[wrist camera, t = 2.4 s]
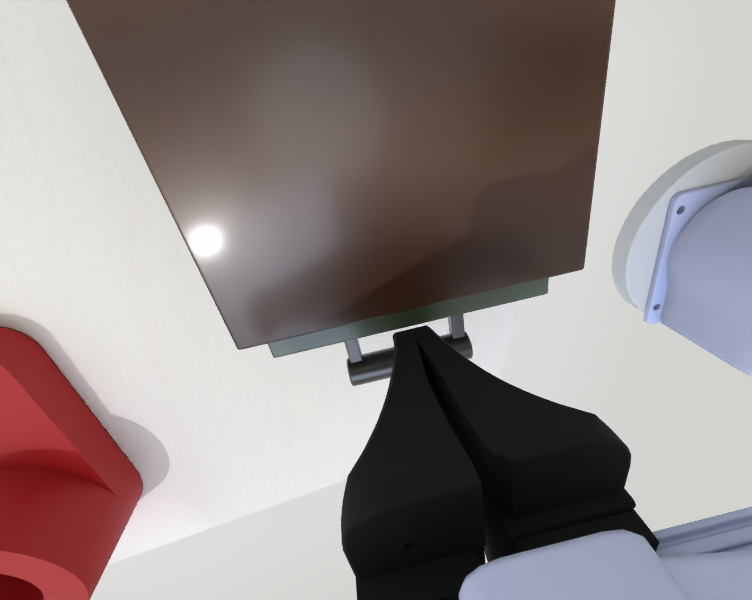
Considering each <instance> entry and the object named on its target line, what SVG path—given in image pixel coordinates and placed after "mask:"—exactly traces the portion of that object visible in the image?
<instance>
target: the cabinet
mask: <svg viewBox="0 0 752 600" xmlns="http://www.w3.org/2000/svg"><path fill="white" fill-rule="evenodd" d="M66 1H67V3H68V5H69V7H70V9H71V11H72V13H73V15H74V17H75V19H76V21H77V23H78V25H79V27H80V29H81V31H82V33H83V35H84V37H85V39H86V41H87V43H88V45H89V47H90V49H91V51H92V53H93V55H94V58H95V60H96V62H97V64H98V66H99V68H100V70H101V72H102V74H103V76H104V78H105V80H106V82H107V84H108V86H109V88H110V90H111V92H112V94H113V96H114V98H115V100H116V102H117V104H118V106H119V108H120V110H121V112H122V115H123V117H124V119H125V121H126V123H127V125H128V127H129V129H130V131H131V133H132V135H133V137H134V139H135V141H136V143H137V145H138V147H139V149H140V151H141V153H142V155H143V157H144V159H145V161H146V163H147V165H148V167H149V169H150V171H151V174H152V176H153V178H154V180H155V182H156V184H157V186H158V188H159V190H160V192H161V194H162V196H163V198H164V200H165V202H166V204H167V206H168V208H169V210H170V212H171V214H172V216H173V218H174V220H175V222H176V224H177V226H178V228H179V231H180V233H181V235H182V237H183V239H184V241H185V243H186V245H187V247H188V249H189V251H190V253H191V255H192V257H193V259H194V261H195V263H196V265H197V267H198V269H199V271H200V273H201V275H202V277H203V279H204V281H205V283H206V285H207V287H208V290H209V292H210V294H211V296H212V298H213V300H214V302H215V304H216V306H217V308H218V310H219V312H220V314H221V316H222V318H223V320H224V322H225V324H226V326H227V328H228V330H229V332H230V334H231V336H232V338H233V340H234V342H235V344H236V347H237V349H238V350H241V349H246V348H250V347H254V346H258V345H263V344H267V343H271V342H276V341H280V340H284V339H288V338H293V337H297V336H301V335H305V334H310V333H314V332H318V331H322V330H327V329H331V328H335V327H340V326H344V325H348V324H352V323H357V322H361V321H365V320H369V319H374V318H378V317H382V316H386V315H391V314H395V313H399V312H404V311H408V310H412V309H416V308H421V307H425V306H429V305H433V304H438V303H442V302H446V301H450V300H455V299H459V298H463V297H468V296H472V295H476V294H480V293H485V292H489V291H493V290H497V289H502V288H506V287H510V286H514V285H519V284H523V283H527V282H531V281H536V280H540V279H544V278H549V277H553V276H557V275H561V274H565V273H570V272H574V271H578V270H582V269H583V268H584V262H585V254H586V246H587V237H588V229H589V220H590V211H591V204H592V195H593V187H594V179H595V170H596V161H597V153H598V144H599V136H600V128H601V118H602V111H603V102H604V94H605V86H606V77H607V69H608V60H609V52H610V43H611V35H612V26H613V17H614V9H615V0H66Z"/></svg>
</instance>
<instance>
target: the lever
mask: <svg viewBox="0 0 752 600" xmlns="http://www.w3.org/2000/svg"><path fill="white" fill-rule="evenodd" d="M142 488H143V486H142V480H141V477H140V475H139V473H138V472H137V470H136V469H135V468H134V466H133V465H132V464H131V463H130V461H129V460H128V459H127V457H126V456H125V455H124V453H123V452H122V451H121V450H120V448H119V447H118V446H117V444H116V443H115V442H114V441H113V439H112V438H111V437H110V435H109V434H108V433H107V431H106V430H105V429H104V428H103V426H102V425H101V424H100V422H99V421H98V420H97V418H96V417H95V416H94V415H93V413H92V412H91V411H90V409H89V408H88V407H87V406H86V404H85V403H84V402H83V400H82V399H81V398H80V396H79V395H78V394H77V393H76V391H75V390H74V389H73V387H72V386H71V385H70V384H69V382H68V381H67V380H66V378H65V377H64V376H63V374H62V373H61V372H60V371H59V369H58V368H57V367H56V365H55V364H54V363H53V362H52V360H51V359H50V358H49V356H48V355H47V354H46V352H45V351H44V350H43V349H42V347H41V346H40V345H39V344H38V343H37V342H36V341H34V340H33V339H32V338H30V337H28V336H27V335H25V334H23V333H21V332H18V331H16V330H13V329H9V328H4V327H0V600H90V598H91V596H92V594H93V592H94V590H95V588H96V586H97V584H98V582H99V580H100V578H101V576H102V574H103V571H104V569H105V567H106V565H107V563H108V561H109V559H110V557H111V555H112V553H113V551H114V549H115V547H116V545H117V543H118V541H119V539H120V537H121V535H122V533H123V531H124V529H125V527H126V525H127V523H128V521H129V519H130V517H131V515H132V513H133V511H134V509H135V507H136V505H137V503H138V501H139V498H140V496H141V494H142Z"/></svg>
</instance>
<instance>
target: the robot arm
mask: <svg viewBox="0 0 752 600" xmlns="http://www.w3.org/2000/svg"><path fill="white" fill-rule="evenodd" d="M678 208H679V209H678ZM677 209H678V211H677ZM643 320H644V321H645V322H646V323H648V324H654V323H658V322H661V323H662V324H664V325H666V326H667V327H669V328H670V329H672V330H674V331H675V332H677V333H679V334H680V335H682V336H684V337H685V338H687V339H689V340H690V341H692V342H693V343H695V344H697V345H698V346H700V347H702V348H703V349H705V350H707V351H708V352H710V353H712V354H713V355H715V356H716V357H718V358H720V359H721V360H723V361H725V362H726V363H728V364H730V365H731V366H733V367H734V368H736V369H738V370H740V371H742V372H744V373H746V374H748V375H750V376H752V176H749V177H745V178H741V179H736V180H732V181H728V182H723V183H719V184H715V185H710V186H706V187H702V188H697V189H693V190H689V191H684V192H680V193H677V194H676V195H674V196H673V197H672V199H671V201H670V204H669V208H668V213H667V217H666V221H665V226H664V230H663V234H662V239H661V243H660V247H659V252H658V256H657V260H656V265H655V269H654V273H653V278H652V282H651V286H650V291H649V295H648V300H647V304H646V308H645V313H644V317H643ZM393 341H394V360H393V368H392V374H391V379H390V384H389V388H388V392H387V395H386V399H385V402H384V405H383V408H382V411H381V413H380V416H379V419H378V421H377V424H376V426H375V428H374V430H373V432H372V434H371V436H370V438H369V440H368V442H367V445H366V447H365V449H364V450H363V452H362V454H361V456H360V457H359V459H358V460H357V462H356V464H355V465H354V467H353V469H352V470H351V472H350V473H349V475H348V478H347V483H346V487H345V492H344V498H343V505H342V516H341V532H342V545H343V551H344V553H345V555H346V557H347V559H348V561H349V564H350V566H351V568H352V570H353V572H354V574H355V576H356V588H357V600H752V507H749V508H745V509H741V510H737V511H734V512H729V513H725V514H722V515H718V516H714V517H710V518H706V519H702V520H699V521H694V522H690V523H686V524H682V525H679V526H675V527H671V528H667V529H663V530H659V531H655V532H651V530H650V529H649V528H648V527H647V525H646V524H645V523H644V521H643V520H642V519H641V518H640V516H639V515H638V514H637V513H636V511H635V510H634V509H633V508H635V506H636V504H635V502H634V500H633V498H632V497H631V496H630V495H629V494H628V492H627V491H626V490H625V489H624V486H625V483H626V479H627V475H628V471H629V468H630V462H631V453H630V451H629V449H628V447H627V446H626V445H625V444H624V443H623V442H622V440H620V438H619V437H618V436H617V435H616V434H615V433H614V432H613V431H612V430H611V429H610V428H609V427H608V426H607V425H606V424H605V423H604V422H603V421H602V420H600V419H599V418H598V417H597V416H596V415H595V414H592V413H588V412H585V411H581V410H578V409H575V408H571V407H567V406H564V405H561V404H558V403H555V402H552V401H549V400H547V399H544V398H541V397H538V396H536V395H533V394H531V393H528V392H526V391H524V390H522V389H519V388H517V387H515V386H513V385H510V384H509V383H506V382H504V381H503V380H501V379H499V378H497V377H495V376H493V375H492V374H490V373H488V372H486V371H485V370H483V369H482V368H480V367H479V366H477V365H476V364H474V363H473V362H471V361H470V360H468V359H467V358H465V357H464V356H463V355H461V354H460V353H459V352H458V351H456V350H455V349H454V348H452V347H451V346H450V345H449V344H447V343H446V342H445V341H444V340H443V339H442V338H440V337H439V336H438V335H437V334H436V333H435V332H434V331H433V330H432V329H431V328H430V327H428V326H427V325H426V326H422V327H418V328H413V329H409V330H405V331H401V332H396V333H395V334H394V335H393ZM484 551H485V553H484ZM485 554H486V558H487V561H488V563H486V564H485Z"/></svg>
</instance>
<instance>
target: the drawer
mask: <svg viewBox="0 0 752 600" xmlns="http://www.w3.org/2000/svg"><path fill="white" fill-rule="evenodd" d="M547 293H548V278H544V279H540V280H536V281H531V282H527V283H523V284H519V285H514V286H510V287H506V288H502V289H497V290H493V291H489V292H485V293H480V294H476V295H472V296H468V297H463V298H459V299H455V300H450V301H446V302H442V303H438V304H433V305H429V306H425V307H421V308H416V309H412V310H408V311H404V312H399V313H395V314H391V315H386V316H382V317H378V318H374V319H369V320H365V321H361V322H357V323H352V324H348V325H344V326H340V327H335V328H331V329H327V330H322V331H318V332H314V333H310V334H305V335H301V336H297V337H293V338H288V339H284V340H280V341H276V342H271V343H268V345H269V348H270V350H271V352H272V355H273V357H274V358H276V357H281V356H285V355H289V354H293V353H298V352H302V351H306V350H310V349H315V348H319V347H323V346H327V345H332V344H336V343H340V342H345V345H346V349H347V352H348V356H349V358H347V368H348V373H349V377H350V381H351V384H352V385H353V386H357V385H361V384H365V383H369V382H374V381H378V380H382V379H386V378H390V377H391V374H392V368H393V360H394V347H391V348H387V349H383V350H379V351H375V352H370V353H366V354H362V352H361V348H360V345H359V341H358V338H361V337H366V336H370V335H374V334H378V333H383V332H387V331H391V330H395V329H400V328H404V327H408V326H412V325H417V324H421V323H425V322H429V321H434V320H438V319H442V318H446V317H448V323H449V332H450V334H446V335H442V336H439V337H440V338H442V339H443V340H444V341H445V342H446V343H447V344H449V345H450V346H451V347H452V348H454V349H455V350H456V351H458V352H459V353H460V354H461V355H463V356H464V357H465V358H467V359H470V358H472V356H473V350H472V345H471V341H470V339H469V336H468V335H467V333H466V332H465V331H464V320H463V313H467V312H472V311H476V310H480V309H484V308H489V307H493V306H497V305H501V304H506V303H510V302H514V301H518V300H523V299H527V298H531V297H535V296H540V295H544V294H547Z"/></svg>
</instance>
